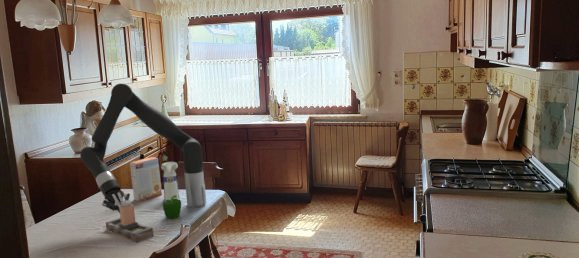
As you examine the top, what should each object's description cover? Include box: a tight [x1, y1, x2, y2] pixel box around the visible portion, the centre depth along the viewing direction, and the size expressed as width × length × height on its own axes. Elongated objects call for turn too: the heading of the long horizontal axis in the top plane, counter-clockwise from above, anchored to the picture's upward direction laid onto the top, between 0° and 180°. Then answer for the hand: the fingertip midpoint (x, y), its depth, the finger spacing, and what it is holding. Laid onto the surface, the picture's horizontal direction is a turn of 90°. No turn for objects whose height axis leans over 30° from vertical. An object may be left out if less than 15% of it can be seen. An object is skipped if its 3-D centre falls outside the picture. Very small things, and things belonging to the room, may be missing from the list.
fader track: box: [105, 217, 154, 243], centre depth 193 cm, size 24×8×4 cm, turn 50°
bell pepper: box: [162, 195, 182, 220], centre depth 209 cm, size 8×8×10 cm
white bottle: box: [160, 154, 180, 202], centre depth 235 cm, size 8×9×25 cm
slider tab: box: [119, 199, 138, 230], centre depth 192 cm, size 5×6×12 cm
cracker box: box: [129, 156, 163, 202], centre depth 240 cm, size 14×6×21 cm, turn 141°
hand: (125, 215), depth 193 cm, fingers closed
